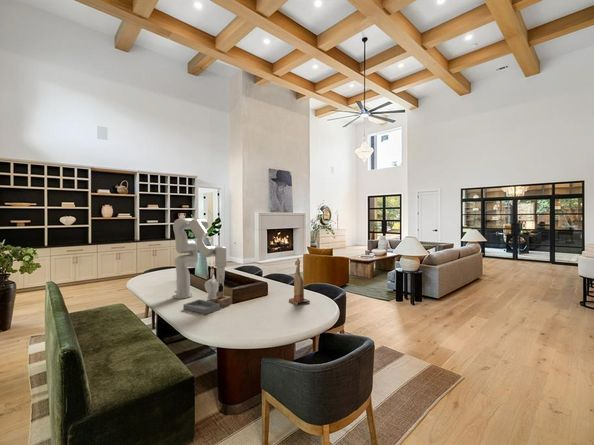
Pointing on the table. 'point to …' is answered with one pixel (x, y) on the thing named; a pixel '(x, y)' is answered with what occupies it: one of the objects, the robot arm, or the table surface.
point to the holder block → (222, 301)
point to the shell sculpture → (211, 287)
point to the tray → (201, 307)
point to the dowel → (221, 294)
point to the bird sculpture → (298, 286)
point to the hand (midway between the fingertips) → (220, 290)
